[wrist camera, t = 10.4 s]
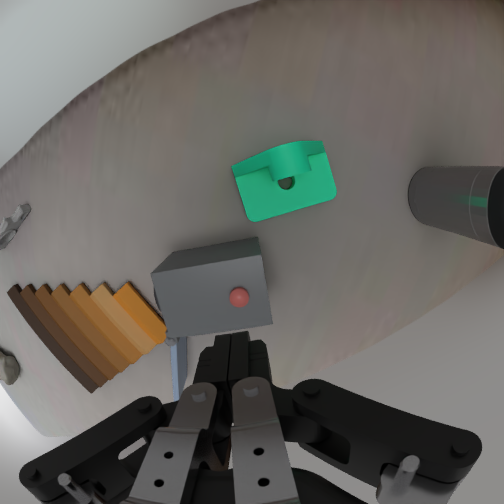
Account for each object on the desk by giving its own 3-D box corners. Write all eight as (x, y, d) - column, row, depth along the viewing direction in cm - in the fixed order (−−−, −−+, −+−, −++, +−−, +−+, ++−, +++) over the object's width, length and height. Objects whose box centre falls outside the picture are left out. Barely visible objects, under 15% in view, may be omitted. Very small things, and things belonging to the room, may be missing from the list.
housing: (257, 237, 39) (261, 256, 28) (268, 302, 41) (275, 340, 31) (164, 253, 39) (137, 277, 29) (180, 315, 41) (162, 354, 31)
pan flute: (14, 291, 41) (94, 386, 46) (4, 297, 38) (87, 396, 42) (74, 204, 38) (175, 326, 43) (63, 206, 35) (170, 337, 39)
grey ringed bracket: (29, 202, 37) (7, 205, 31) (33, 210, 37) (11, 214, 31) (2, 242, 38) (-18, 249, 33) (5, 250, 39) (-14, 257, 33)
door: (188, 375, 44) (180, 402, 37) (178, 374, 43) (170, 401, 37) (187, 309, 41) (177, 332, 34) (177, 307, 41) (165, 330, 34)
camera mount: (249, 221, 39) (250, 234, 29) (232, 167, 37) (227, 161, 27) (332, 196, 38) (360, 201, 28) (317, 143, 36) (340, 130, 26)
